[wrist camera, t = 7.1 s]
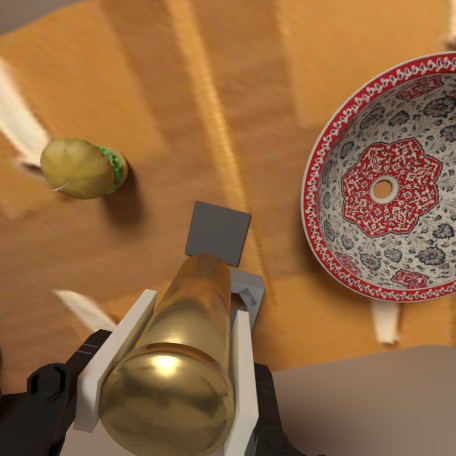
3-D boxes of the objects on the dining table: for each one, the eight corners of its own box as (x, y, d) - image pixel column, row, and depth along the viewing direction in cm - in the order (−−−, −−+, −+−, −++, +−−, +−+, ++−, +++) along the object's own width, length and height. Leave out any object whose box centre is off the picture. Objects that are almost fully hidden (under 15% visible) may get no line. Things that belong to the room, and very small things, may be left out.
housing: (193, 312, 40) (188, 329, 35) (204, 262, 37) (200, 274, 33) (246, 324, 40) (248, 343, 36) (261, 275, 37) (264, 289, 33)
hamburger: (126, 139, 33) (67, 120, 21) (144, 186, 34) (99, 192, 23) (81, 155, 34) (0, 145, 22) (101, 200, 35) (35, 213, 24)
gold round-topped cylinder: (171, 297, 21) (92, 448, 10) (181, 244, 20) (105, 343, 8) (227, 310, 21) (217, 474, 10) (241, 258, 20) (249, 376, 8)
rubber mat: (185, 252, 37) (184, 253, 36) (196, 200, 35) (195, 201, 34) (237, 264, 37) (237, 266, 37) (250, 214, 35) (251, 214, 34)
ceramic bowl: (461, 40, 29) (546, -9, 21) (497, 235, 35) (573, 252, 27) (257, 140, 32) (264, 129, 25) (321, 300, 38) (343, 332, 31)
